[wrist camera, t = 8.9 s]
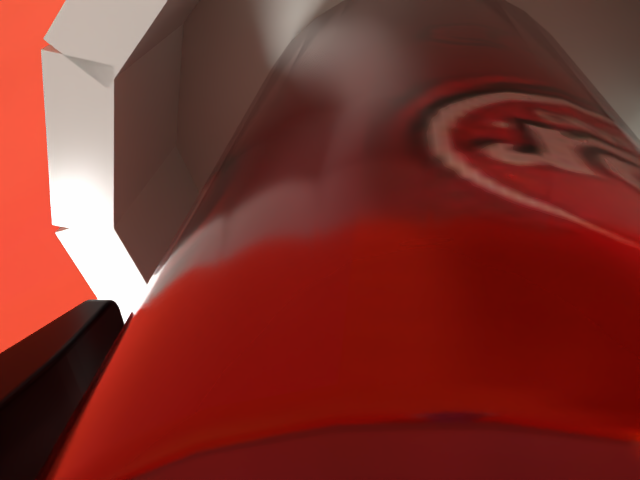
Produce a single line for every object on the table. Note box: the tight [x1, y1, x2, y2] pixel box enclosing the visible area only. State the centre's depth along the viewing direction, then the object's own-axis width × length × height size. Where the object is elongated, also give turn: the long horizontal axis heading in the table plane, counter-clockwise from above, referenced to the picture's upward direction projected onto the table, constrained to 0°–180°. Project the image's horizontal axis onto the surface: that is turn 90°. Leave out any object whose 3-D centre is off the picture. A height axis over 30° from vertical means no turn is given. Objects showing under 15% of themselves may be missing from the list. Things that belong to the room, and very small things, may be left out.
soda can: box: [35, 0, 640, 480], centre depth 9 cm, size 7×7×12 cm
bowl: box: [41, 0, 640, 324], centre depth 13 cm, size 13×13×4 cm
